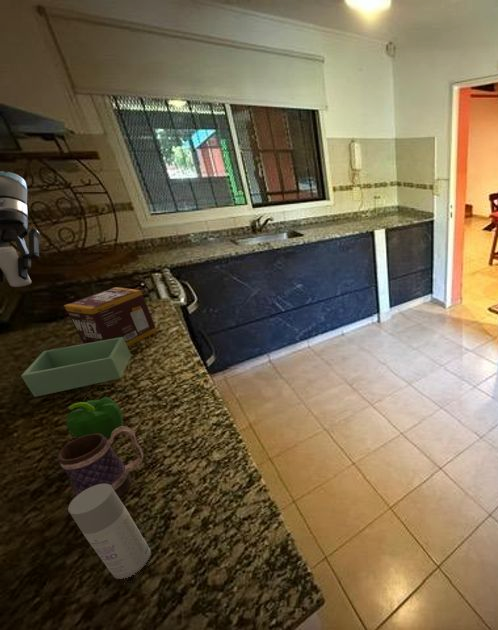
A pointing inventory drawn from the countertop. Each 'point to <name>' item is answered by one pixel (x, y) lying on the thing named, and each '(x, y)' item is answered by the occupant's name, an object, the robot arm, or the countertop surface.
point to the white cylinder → (11, 267)
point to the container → (110, 530)
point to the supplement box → (112, 316)
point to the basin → (77, 366)
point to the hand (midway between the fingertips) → (10, 278)
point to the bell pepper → (94, 418)
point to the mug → (98, 462)
